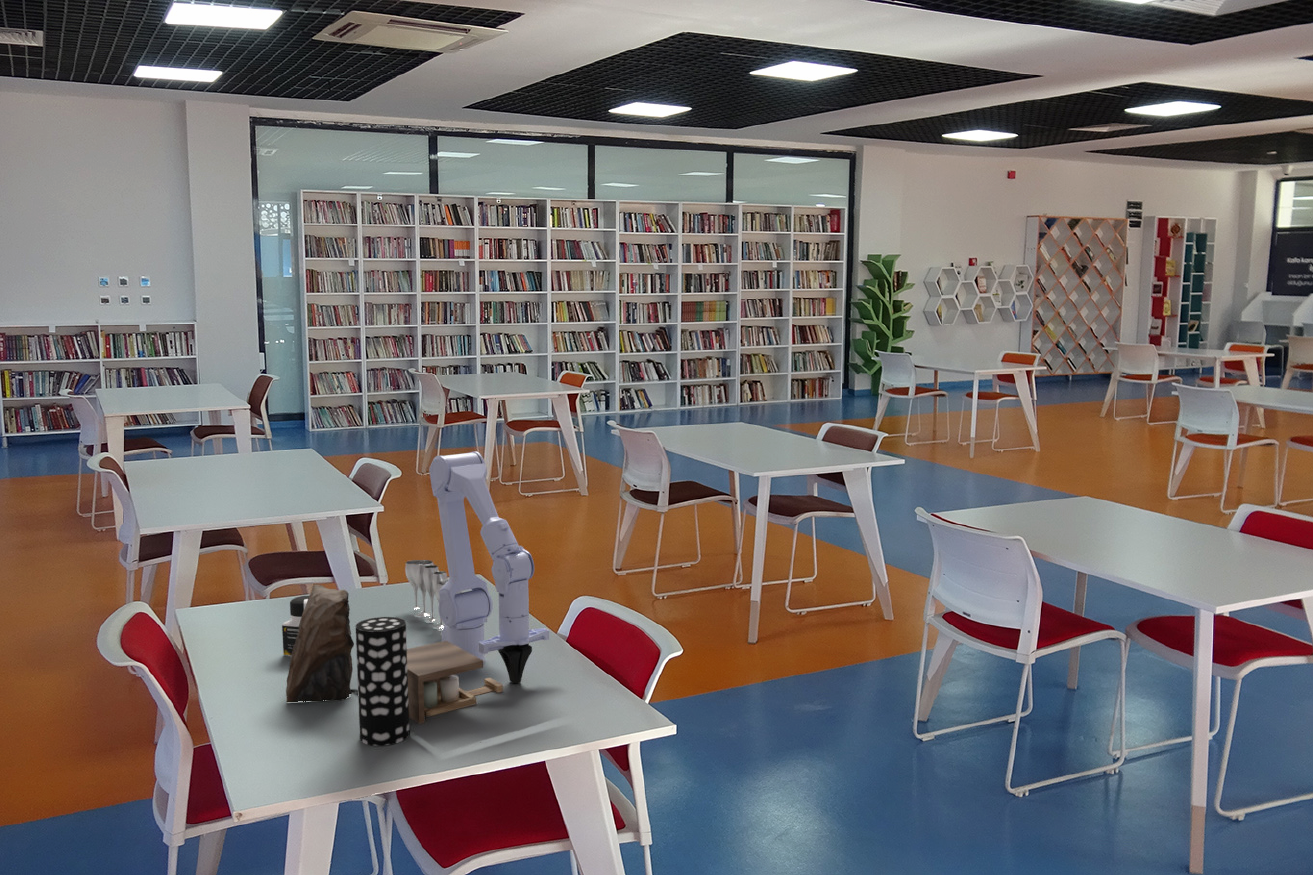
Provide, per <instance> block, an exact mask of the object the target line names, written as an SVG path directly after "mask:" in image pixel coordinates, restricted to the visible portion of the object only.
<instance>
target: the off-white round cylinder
mask: <svg viewBox="0 0 1313 875" xmlns="http://www.w3.org/2000/svg"><path fill="white" fill-rule="evenodd" d="M459 688H460V681H459V676H458V675H457V674H454V675H450V676H446V677H442V678H440V691H441V701H443V702H455V701H457V700H459Z"/></svg>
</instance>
